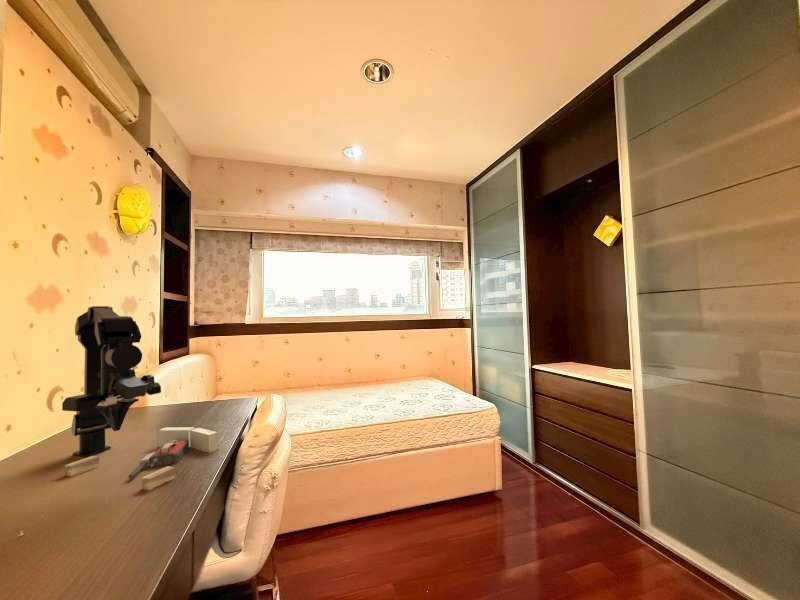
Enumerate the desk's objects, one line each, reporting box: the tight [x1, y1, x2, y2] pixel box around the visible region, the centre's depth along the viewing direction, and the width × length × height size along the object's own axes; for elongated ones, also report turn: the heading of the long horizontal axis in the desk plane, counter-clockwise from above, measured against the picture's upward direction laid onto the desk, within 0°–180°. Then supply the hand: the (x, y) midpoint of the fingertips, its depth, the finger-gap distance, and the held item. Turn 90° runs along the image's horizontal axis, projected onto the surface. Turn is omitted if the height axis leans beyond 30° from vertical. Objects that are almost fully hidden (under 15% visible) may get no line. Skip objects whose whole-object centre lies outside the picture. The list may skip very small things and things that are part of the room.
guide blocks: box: [64, 455, 176, 491], centre depth 83 cm, size 30×6×2 cm, turn 71°
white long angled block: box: [158, 426, 219, 453], centre depth 102 cm, size 21×4×5 cm, turn 71°
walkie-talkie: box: [128, 439, 190, 479], centre depth 91 cm, size 9×4×20 cm
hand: (116, 430), depth 83 cm, fingers closed
